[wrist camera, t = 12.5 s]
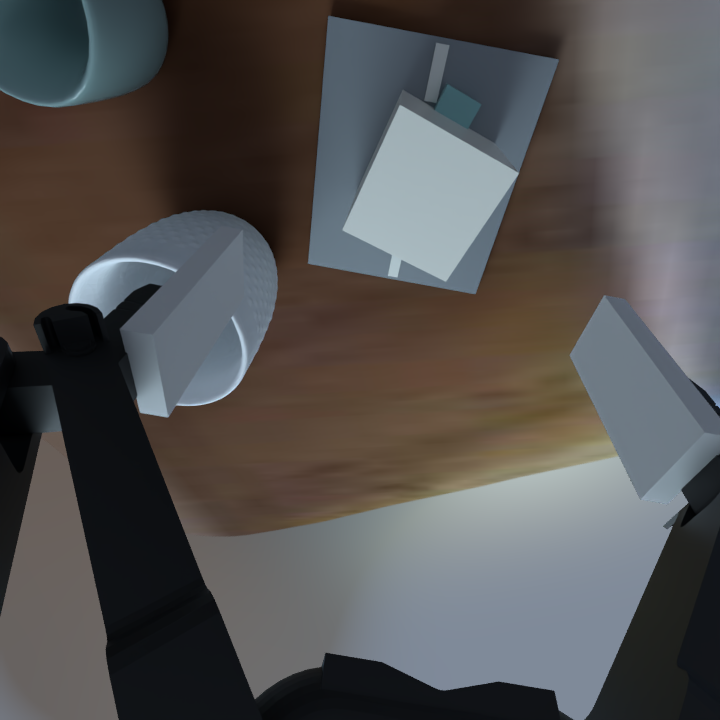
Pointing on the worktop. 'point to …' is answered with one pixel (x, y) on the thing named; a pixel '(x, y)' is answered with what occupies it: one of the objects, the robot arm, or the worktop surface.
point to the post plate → (373, 110)
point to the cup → (79, 49)
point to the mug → (161, 260)
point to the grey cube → (430, 183)
